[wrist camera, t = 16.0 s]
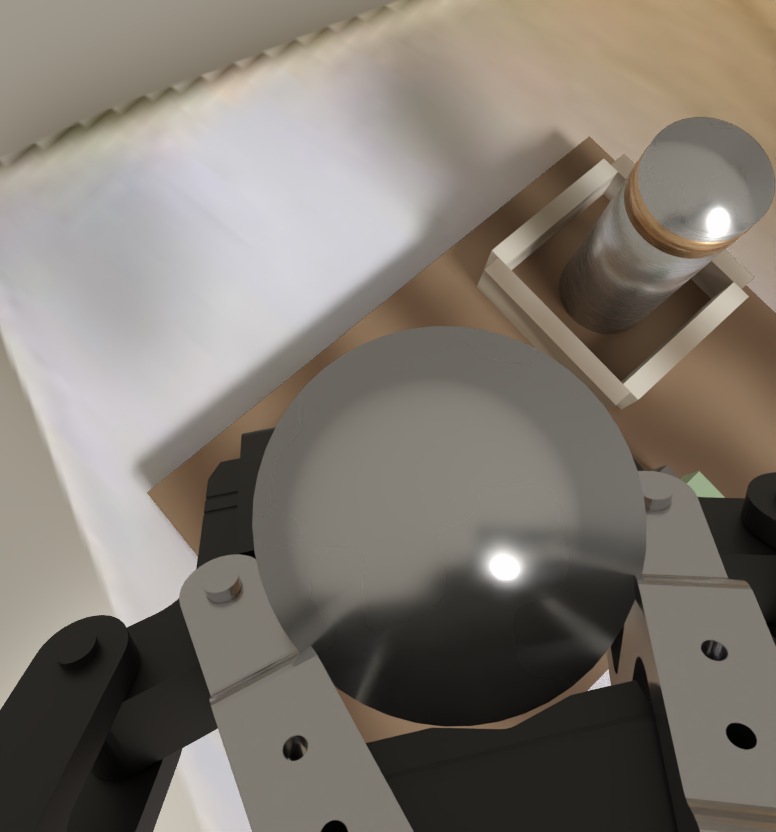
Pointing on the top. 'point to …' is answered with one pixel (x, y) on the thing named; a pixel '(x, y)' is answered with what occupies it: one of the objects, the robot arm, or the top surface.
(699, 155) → the seated billet
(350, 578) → the cylinder
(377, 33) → the top surface
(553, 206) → the pallet
